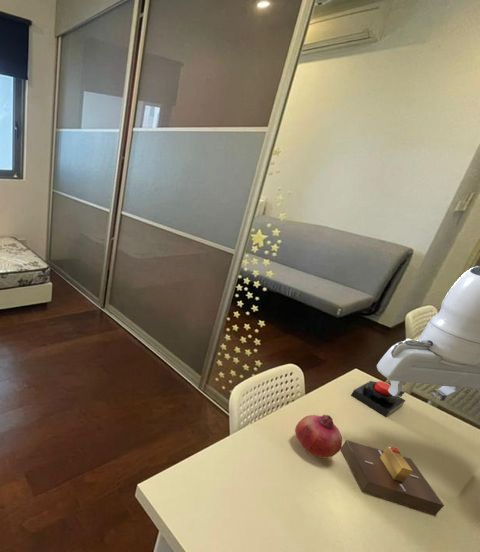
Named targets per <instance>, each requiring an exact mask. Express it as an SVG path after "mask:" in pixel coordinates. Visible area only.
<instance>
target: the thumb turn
mask: <svg viewBox="0 0 480 552" xmlns="http://www.w3.org/2000/svg"><path fill="white" fill-rule="evenodd" d="M383 451H384V453H383V454H382V455H381V457H380V458H381V460H382V462H383V463H384V465H385V466H386V468H387V470H388V471H389V473H390V474H391V476H392V478H393V479H394V480H397V481H400V482H404V481H405V479H406V478H407V477H408V476H409V474H410V473H411V472H412V469H411V468H410V466H409V465H408V463H407V462H406V461H405V459H404V458H403V457H404V456H403V455H402V453H401V451H400V449H399V448H397V447H394V446H389V445H388V446H387V447H386V449H385V450H383Z"/></svg>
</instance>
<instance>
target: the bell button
mask: <svg viewBox="0 0 480 552" xmlns="http://www.w3.org/2000/svg"><path fill="white" fill-rule="evenodd" d="M376 382H377V383H376V384H375V386H374V388H375V389H376V390H377V391H378V392H380V393H382V394H384V395H387V396H390V395H391V394H390V393H389V392H388V389H389V388H390V386H391V384H390V383H389V384H388V382H387V383H386V382H384V381H380V380H379V381H376Z"/></svg>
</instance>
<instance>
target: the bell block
mask: <svg viewBox="0 0 480 552" xmlns="http://www.w3.org/2000/svg"><path fill="white" fill-rule="evenodd" d="M377 382H378V381H372V380H369V381H368V382H366V383H364V384H362V385H360V386H358V387H356V388H354V389H353V391H352V392H351V394H350V396H351V397H352V398H354V399H355V400H356V401H359V402H360V403H362V404H363V405H365V406H367V407H368V408H370V409H371V410H373V411H375V412H376V413H378V414H379V415H381V416H382V417H384V418H387V417H388V416H390V415H391V414H393V413H394V412H396V411H397V410H398V409H400V408H401V407H403V405H404V404H405V402H406V399H404V398H402V397H397V396H392V395H390V396H387V395H384V394H382V393H380V392H378V391H377V390H376V389H375V388H374V386H375V384H376V383H377Z"/></svg>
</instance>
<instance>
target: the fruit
mask: <svg viewBox="0 0 480 552" xmlns="http://www.w3.org/2000/svg"><path fill="white" fill-rule="evenodd" d="M333 420H334V419H333V418H332V416H331V415H328V414H323V415H316V414H310V415H306V416H304V417H302V419H300V421H298V423H297V424H296V426H295V428H294V434H295V437H296V439H297V441H298V442H299V444H300V445H301V446H302V448H303V449H304V450H305V451H306V452H307V453H309V455H312V456H315V457H318V458H322V459H324V458H330V457H334V456H335V455H337V454H338V453H339V452H340V451H341V447H342V446H343V436H342V434H341V432H340V429H339V428H338V427H337V426H336V425H335V424H334V421H333Z"/></svg>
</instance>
